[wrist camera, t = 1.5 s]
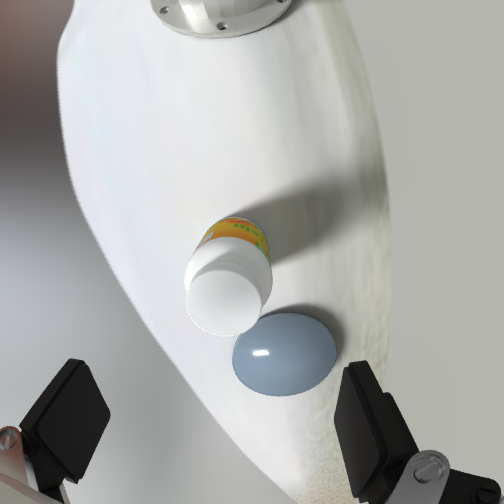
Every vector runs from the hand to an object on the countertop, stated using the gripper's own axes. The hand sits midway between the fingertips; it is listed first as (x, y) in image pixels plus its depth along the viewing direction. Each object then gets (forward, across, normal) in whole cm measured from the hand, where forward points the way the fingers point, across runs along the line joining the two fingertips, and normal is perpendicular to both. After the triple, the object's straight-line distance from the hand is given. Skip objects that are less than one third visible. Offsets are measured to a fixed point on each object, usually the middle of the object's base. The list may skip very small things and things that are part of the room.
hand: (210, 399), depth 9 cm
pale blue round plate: (+16, -4, +10) cm, 19 cm away
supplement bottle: (+16, 0, -1) cm, 16 cm away
